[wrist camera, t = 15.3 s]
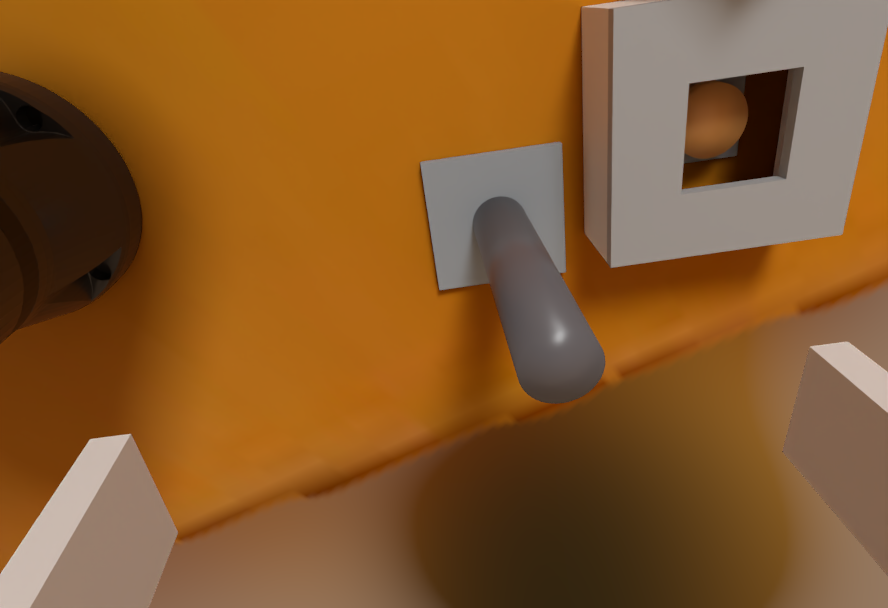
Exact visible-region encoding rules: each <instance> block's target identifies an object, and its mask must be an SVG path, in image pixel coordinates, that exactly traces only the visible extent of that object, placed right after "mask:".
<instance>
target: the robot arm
mask: <svg viewBox="0 0 888 608" xmlns="http://www.w3.org/2000/svg"><path fill="white" fill-rule="evenodd" d="M141 228H142V216H141V207H140V202H139V197H138V193H137V190H136V187H135V184H134V181H133V179H132V177H131V174H130V172H129V170H128V168H127V166H126V164H125V162H124V161H123V159H122V157H121V156H120V154H119V153H118V151H117V150H116V148H115V147H114V146H113V144H112V143H111V142H110V140H109V139H108V138H107V137H106V136H105V134H104V133H103V132H102V131H101V130H100V129H99V128H98V127H97V126H96V125H95V124H94V123H93V122H92V121H91V120H90V119H89V118H88V117H87V116H86V115H84V114H83V113H82V112H81V111H80V110H78V109H77V108H76V107H74V106H73V105H72V104H70V103H69V102H67V101H66V100H65V99H63V98H61V97H60V96H58V95H57V94H55V93H53V92H51V91H49V90H48V89H46V88H44V87H42V86H40V85H37V84H35V83H33V82H30V81H28V80H26V79H23V78H20V77H17V76H14V75H10V74H6V73H3V72H0V344H1V343H2V342H3V341H4V340H5V339H6V338H7V337H8V336H10V335H11V334H12V333H13V332H14V331H15V330H17V329H20V328H24V327H27V326H30V325H33V324H36V323H39V322H42V321H45V320H49V319H52V318H55V317H58V316H61V315H64V314H67V313H70V312H73V311H76V310H78V309H80V308H82V307H84V306H86V305H88V304H90V303H91V302H93V301H94V300H96V299H97V298H99V297H100V296H101V295H103V294H104V293H105V292H106V291H107V290H108V289H109V288H110V287H111V286H112V285H113V284H114V283H115V282H116V281H117V280H118V279H119V278H120V277H121V276H122V275H123V274H124V273H125V272H126V270H127V269H128V267H129V266H130V264H131V263H132V261H133V259H134V257H135V254H136V252H137V249H138V246H139V242H140V237H141ZM782 452H783V453H784V454H785V455H786V456H787V458H788V459H789V460H790V461H791V462H792V464H793V465H794V466H795V467H796V468H797V470H798V471H799V472H800V473H801V474H802V475H803V477H805V479H806V480H807V481H808V482H809V484H810V485H811V486H812V487H813V488H814V490H815V491H816V492H817V493H818V494H819V495H820V496H821V498H822V499H823V500H824V501H825V503H826V504H827V505H828V506H829V507H830V508H831V510H832V511H833V512H834V513H835V514H836V515H837V517H838V518H839V519H840V520H841V521H842V522H843V524H844V525H845V526H846V527H847V528H848V530H849V531H850V532H851V533H852V534H853V535H854V537H855V538H856V539H857V540H858V541H859V543H860V544H861V545H862V546H863V547H864V548H865V550H866V551H867V552H868V553H869V554H870V555H871V557H872V558H873V559H874V560H875V561H876V563H877V564H878V565H879V566H880V567H881V568H882V569H883V571H884V572H885V573H886V574H887V576H888V372H887V371H886V370H884V369H883V368H882V367H880V366H879V365H878V364H876V363H875V362H874V361H872V360H871V359H870V358H869V357H867V356H866V355H865V354H863V353H862V352H861V351H859V350H858V349H857V348H856V347H854V346H853V345H852V344H850V343H849V342H841V343H833V344H825V345H818V346H811V347H809V351H808V355H807V359H806V363H805V366H804V370H803V374H802V378H801V382H800V386H799V390H798V394H797V397H796V401H795V405H794V409H793V413H792V417H791V421H790V424H789V429H788V432H787V436H786V440H785V444H784V447H783V451H782ZM177 534H178V531H177V529H176V527H175V525H174V523H173V521H172V519H171V517H170V515H169V512H168V510H167V508H166V506H165V504H164V502H163V500H162V498H161V496H160V494H159V491H158V489H157V487H156V485H155V483H154V481H153V479H152V477H151V475H150V473H149V470H148V468H147V466H146V464H145V462H144V460H143V458H142V456H141V454H140V452H139V449H138V447H137V445H136V443H135V441H134V439H133V437H132V435H131V434H126V435H118V436H110V437H102V438H95V439H90V440H89V441H88V443H87V444H86V446H85V447H84V449H83V450H82V452H81V453H80V455H79V457H78V458H77V460H76V461H75V463H74V464H73V466H72V467H71V469H70V470H69V472H68V473H67V475H66V476H65V478H64V479H63V481H62V482H61V484H60V485H59V487H58V488H57V490H56V491H55V493H54V494H53V496H52V497H51V499H50V500H49V502H48V503H47V505H46V506H45V508H44V509H43V511H42V512H41V514H40V515H39V517H38V518H37V520H36V521H35V523H34V524H33V526H32V527H31V529H30V530H29V532H28V533H27V535H26V536H25V538H24V539H23V541H22V542H21V544H20V545H19V547H18V548H17V550H16V551H15V553H14V554H13V556H12V557H11V559H10V560H9V562H8V563H7V565H6V566H5V568H4V569H3V571H2V572H1V574H0V608H149V606H150V603H151V600H152V598H153V595H154V593H155V590H156V587H157V585H158V582H159V580H160V577H161V575H162V572H163V570H164V567H165V564H166V562H167V559H168V557H169V554H170V552H171V549H172V546H173V544H174V541H175V539H176V536H177Z"/></svg>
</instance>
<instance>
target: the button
mask: <svg viewBox="0 0 888 608" xmlns="http://www.w3.org/2000/svg"><path fill="white" fill-rule="evenodd" d="M747 119H748V105H747V101H746V99H745V97H744V95H743V93H742V92H741V91H740V90H739V89H738V88H736V87H735V86H733V85H731V84H728V83H724V82H720V81H717V80H710V81H703V82H696V83H689V93H688V108H687V122H686V136H685V150H684V153H685V154H687V155H689V156H691V157H694V158H698V159H708V158H712V157H715V156H718V155H720V154H722V153H724V152H725V151H727V150H728V149H730V148H731V147H732V146H733V145H734V144H735V143H736V142H737V140H738V139H739V138H740V136H741V135H742V133H743V131H744V129H745V126H746V123H747Z"/></svg>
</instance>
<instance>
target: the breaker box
mask: <svg viewBox="0 0 888 608" xmlns="http://www.w3.org/2000/svg"><path fill="white" fill-rule="evenodd" d="M581 19H582V94H583V169H584V233H585V234H586V236H587V237H588V238H589V240H590V241H591V242H592V244H593V245H594V246H595V248H596V249H597V250H598V252H599V253H600V254H601V256H602V257H603V258H604V259H605V261H606V262H607V263H608V265H609V266H610V267H611V268H614V267H621V266H628V265H634V264H641V263H648V262H655V261H662V260H669V259H676V258H683V257H690V256H697V255H704V254H711V253H718V252H725V251H732V250H739V249H746V248H753V247H760V246H767V245H774V244H781V243H788V242H795V241H802V240H808V239H815V238H822V237H829V236H836V235H842V233H843V229H844V224H845V219H846V215H847V210H848V206H849V201H850V196H851V192H852V187H853V183H854V178H855V173H856V169H857V164H858V160H859V155H860V151H861V146H862V141H863V137H864V132H865V128H866V123H867V118H868V114H869V109H870V105H871V100H872V95H873V91H874V86H875V82H876V77H877V72H878V68H879V63H880V59H881V54H882V49H883V45H884V40H885V36H886V31H887V26H888V0H625V1H618V2H611V3H605V4H598V5H591V6H584V7H581ZM785 69H789V70H788V77H787V84H786V91H785V98H784V104H783V111H782V118H781V125H780V131H779V138H778V145H777V152H776V158H775V165H774V172H773V176H772V177H765V178H758V179H751V180H744V181H737V182H730V183H723V184H716V185H709V186H702V187H696V188H689V189H682V178H683V164H684V163H690V162H697V161H704V160H711V159H718V158H725V157H732V156H737V151H738V142H739V139H738V140H737V142H736V143H735V144H734V145H733V146H732V147H731V148H730V149H728V150H727V151H725V152H724V153H722V154H720V155H718V156H715V157H712V158H708V159H698V158H694V157H691V156H689V155H687V154H685V153H684V150H685V136H686V122H687V108H688V93H689V83H696V82H703V81H710V80H717V81H720V82H724V83H728V84H731V85H733V86H735V87H736V88H738V89H739V90H740V91H741V92H742V93H743V95H744V90H745V81H746V75H751V74H758V73H764V72H771V71H778V70H785Z"/></svg>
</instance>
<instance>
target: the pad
mask: <svg viewBox="0 0 888 608" xmlns="http://www.w3.org/2000/svg"><path fill="white" fill-rule="evenodd" d="M420 165H421V172H422V178H423V185H424V192H425V198H426V205H427V211H428V218H429V225H430V231H431V238H432V245H433V251H434V258H435V265H436V271H437V278H438V284H439V290H445V289H452V288H459V287H466V286H473V285H480V284H487V283H489V280H488V276H487V273H486V270H485V266H484V263H483V260H482V256H481V253H480V250H479V246H478V243H477V240H476V236H475V233H474V230H473V218H474V215H475V212H476V210H477V209H478V208H479V206H480V205H481V204H482V203H484V202H485V201H487V200H488V199H491V198H493V197H499V196H504V197H509V198H512V199H514V200H516V201H517V202H518V203H519V204H520V205H521V206H522V207H523V209H524V211H525V213H526V214H527V216H528V218H529V220H530V221H531V223H532V225H533V227H534V229H535V230H536V232H537V234H538V236H539V237H540V239H541V241H542V243H543V245H544V246H545V248H546V250H547V252H548V253H549V255H550V257H551V259H552V261H553V262H554V264H555V266H556V268H557V269H558V271H559V273H563V272H566V256H565V224H564V191H563V159H562V143H561V142H554V143H547V144H540V145H533V146H527V147H520V148H513V149H506V150H499V151H492V152H485V153H479V154H472V155H465V156H458V157H451V158H444V159H437V160H430V161H424V162H420Z"/></svg>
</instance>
